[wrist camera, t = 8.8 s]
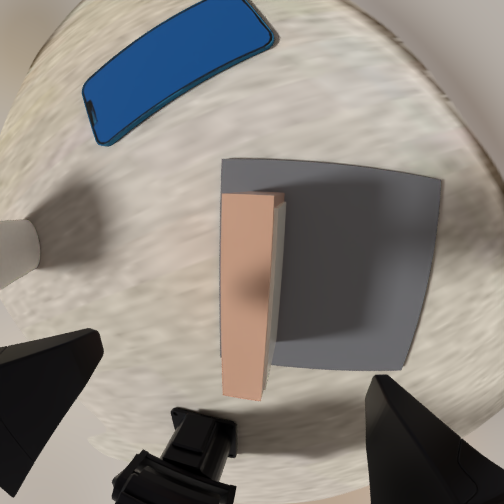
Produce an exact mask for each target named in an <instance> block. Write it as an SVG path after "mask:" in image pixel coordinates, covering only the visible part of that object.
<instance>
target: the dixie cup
mask: <svg viewBox="0 0 504 504" xmlns="http://www.w3.org/2000/svg"><path fill="white" fill-rule="evenodd" d="M39 261H40V244H39V239H38V235H37V232H36V230H35V228H34V226H33V224H32V223H31V222H30V221H29V220H27V219H23V220H6V221H0V290H2V289H3V288H5V287H6V286H8V285H9V284H11V283H13V282H14V281H16V280H17V279H19V278H21V277H23V276H24V275H26V274H28V273H29V272H31V271H32V270H34V269H36V268H37V266H38V264H39Z"/></svg>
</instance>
